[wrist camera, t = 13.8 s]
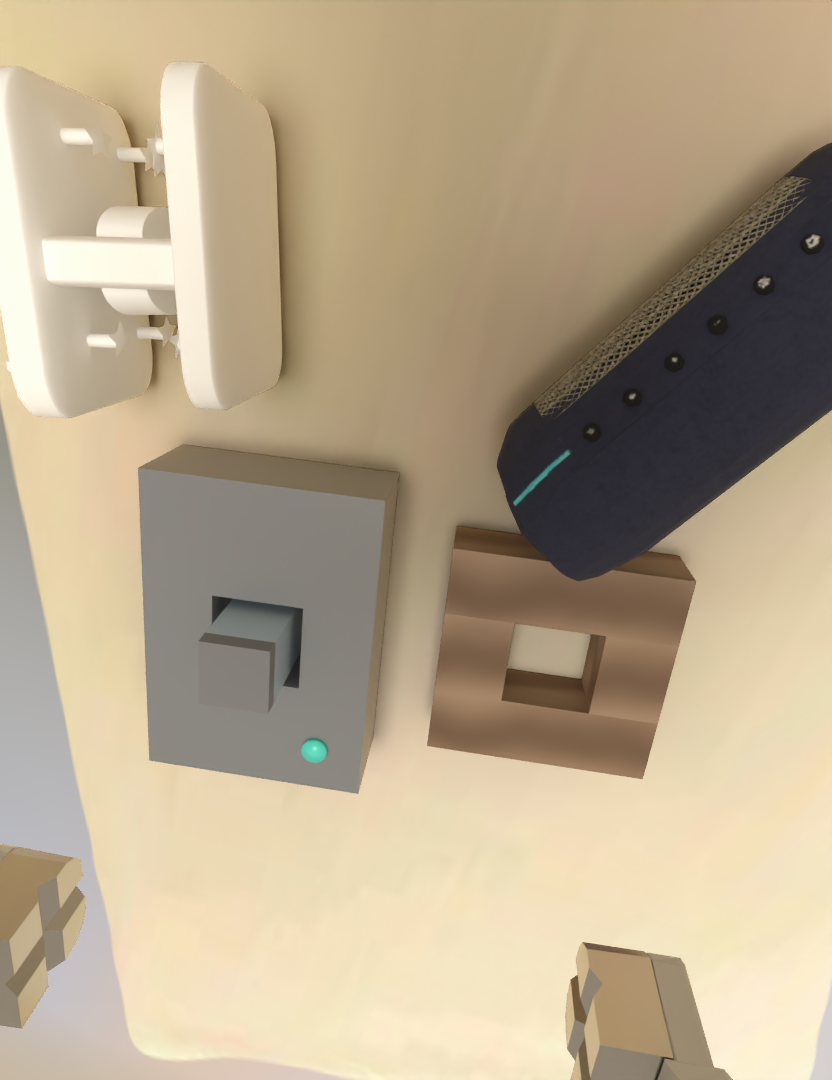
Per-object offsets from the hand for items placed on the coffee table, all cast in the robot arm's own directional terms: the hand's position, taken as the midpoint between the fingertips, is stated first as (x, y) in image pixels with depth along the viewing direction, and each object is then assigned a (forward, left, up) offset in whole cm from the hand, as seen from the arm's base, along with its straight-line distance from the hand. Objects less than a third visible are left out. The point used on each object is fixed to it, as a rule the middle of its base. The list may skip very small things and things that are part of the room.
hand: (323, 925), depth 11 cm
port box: (+12, -10, -34) cm, 37 cm away
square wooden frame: (+12, +8, -34) cm, 37 cm away
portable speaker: (-7, +13, -34) cm, 37 cm away
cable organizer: (-9, -16, -34) cm, 39 cm away
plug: (+12, -10, -34) cm, 38 cm away
